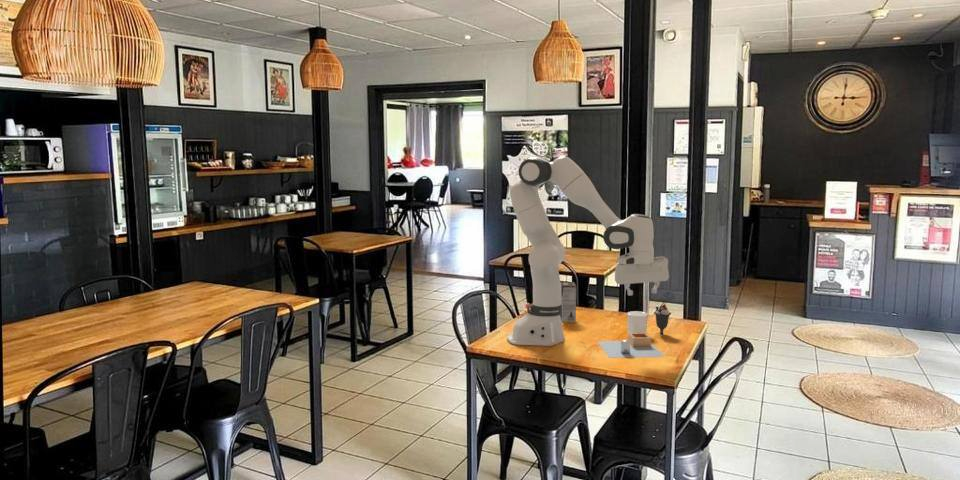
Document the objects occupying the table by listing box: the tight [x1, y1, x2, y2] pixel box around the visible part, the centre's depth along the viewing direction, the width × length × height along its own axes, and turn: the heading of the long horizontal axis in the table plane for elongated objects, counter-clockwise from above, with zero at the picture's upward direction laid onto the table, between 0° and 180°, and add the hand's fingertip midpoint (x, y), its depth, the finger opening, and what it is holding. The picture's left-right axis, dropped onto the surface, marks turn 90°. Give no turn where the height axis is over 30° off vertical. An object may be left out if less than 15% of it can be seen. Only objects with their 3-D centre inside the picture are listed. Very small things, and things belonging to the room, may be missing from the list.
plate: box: [596, 340, 666, 359], centre depth 243 cm, size 20×20×2 cm
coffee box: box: [560, 281, 577, 323], centre depth 291 cm, size 9×6×16 cm
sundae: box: [653, 301, 672, 336], centre depth 262 cm, size 7×7×15 cm
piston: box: [620, 339, 630, 354], centre depth 237 cm, size 3×3×4 cm
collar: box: [627, 332, 652, 347], centre depth 248 cm, size 7×7×4 cm
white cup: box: [626, 310, 649, 334], centre depth 262 cm, size 8×8×10 cm
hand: (642, 294), depth 247 cm, fingers open, 8 cm apart
